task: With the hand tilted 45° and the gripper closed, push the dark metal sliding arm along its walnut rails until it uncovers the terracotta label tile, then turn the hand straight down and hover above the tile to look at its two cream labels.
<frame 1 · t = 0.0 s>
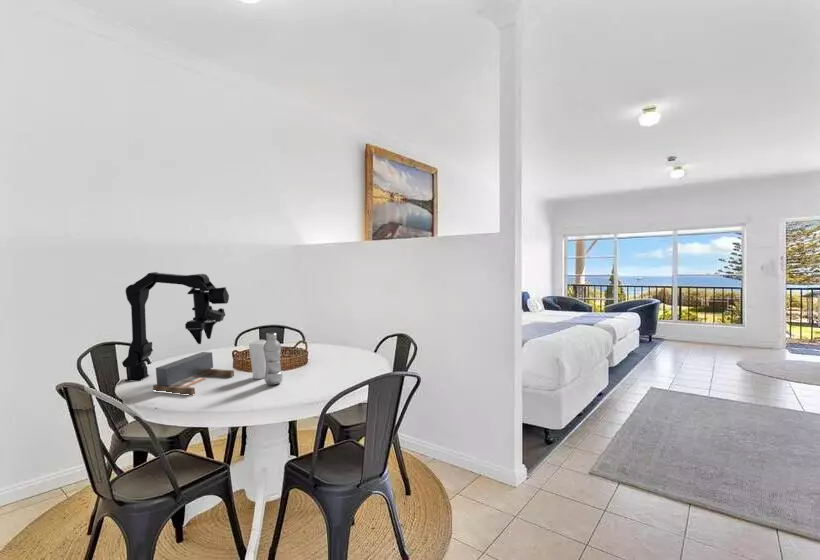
hand: (204, 341, 174), 15 cm above the table, tool pointing down, fingers open, 9 cm apart
sliding arm: (186, 367, 166), point 6 cm above the table, slide at 0.0 cm
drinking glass: (259, 377, 171), on the table
plastic bottle: (274, 384, 162), on the table
label tile: (187, 383, 166), on the table
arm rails: (187, 383, 166), on the table
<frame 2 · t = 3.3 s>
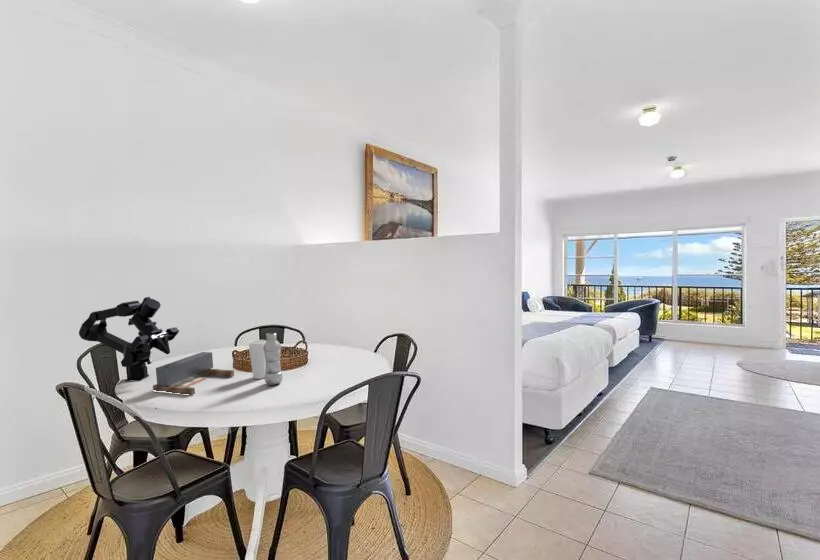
hand: (168, 353, 167), 12 cm above the table, tool tilted 45°, fingers closed
nothing on the table moved.
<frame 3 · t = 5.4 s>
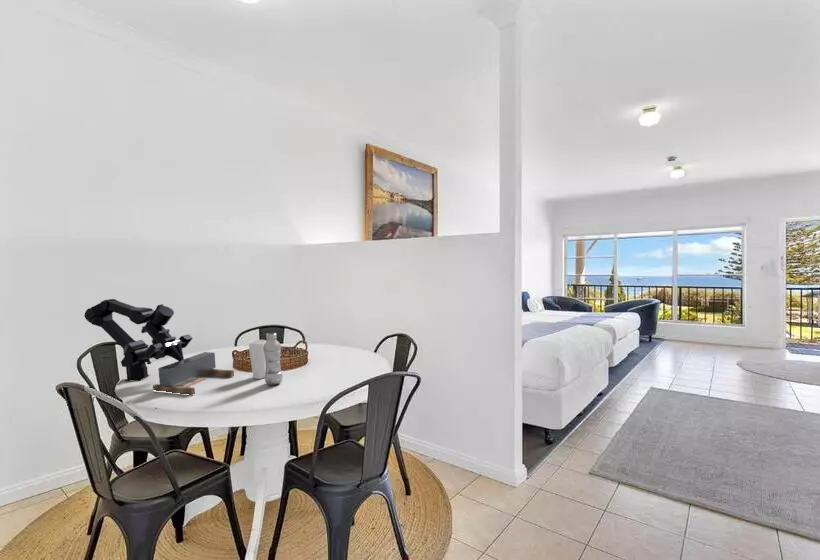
hand: (182, 361, 166), 9 cm above the table, tool tilted 45°, fingers closed, pressing on sliding arm
sliding arm: (188, 367, 165), point 6 cm above the table, slide at 1.3 cm, touching gripper
everything else where it was.
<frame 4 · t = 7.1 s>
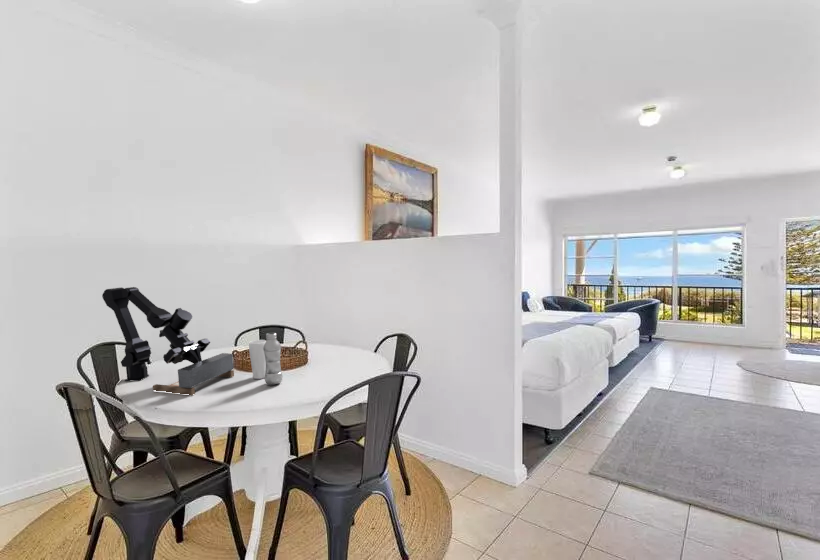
hand: (201, 365, 163), 7 cm above the table, tool tilted 45°, fingers closed
sliding arm: (207, 369, 163), point 6 cm above the table, slide at 10.2 cm
everything else where it was.
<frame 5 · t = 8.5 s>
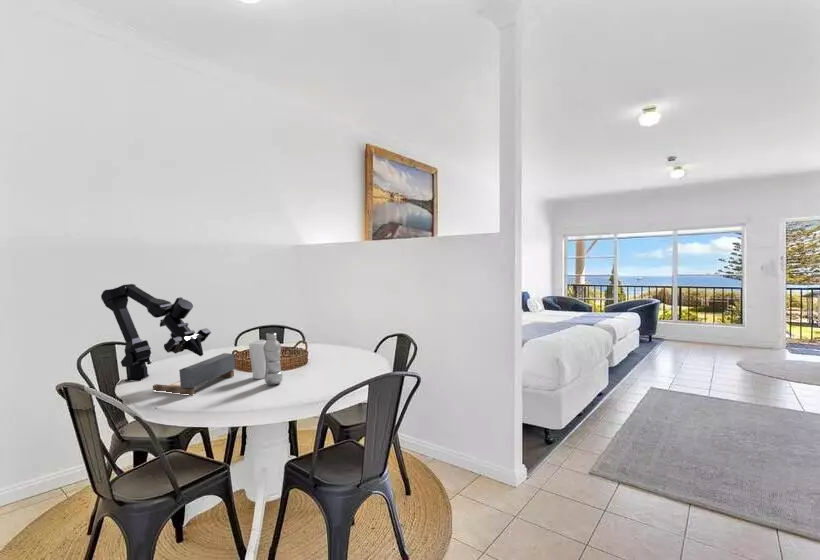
hand: (201, 355, 163), 12 cm above the table, tool tilted 45°, fingers closed
sliding arm: (209, 369, 163), point 6 cm above the table, slide at 11.0 cm
everything else where it was.
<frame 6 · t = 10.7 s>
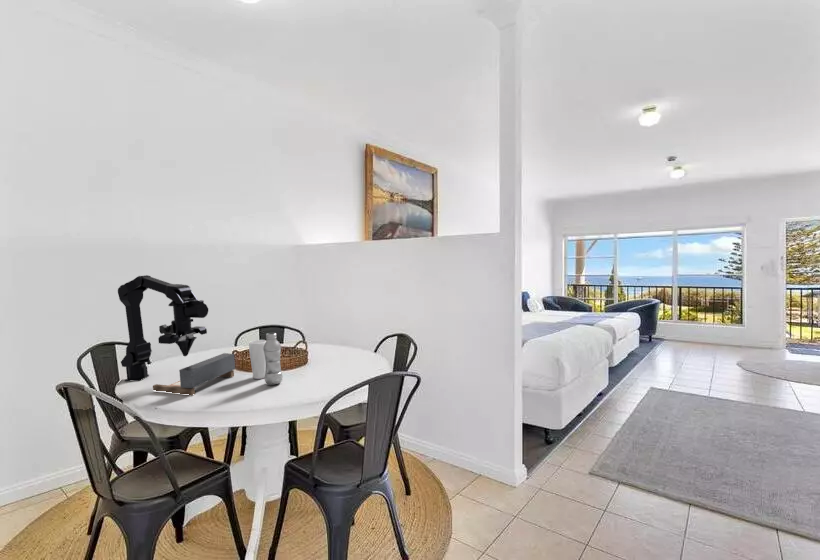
hand: (185, 356, 165), 11 cm above the table, tool pointing down, fingers closed
nothing on the table moved.
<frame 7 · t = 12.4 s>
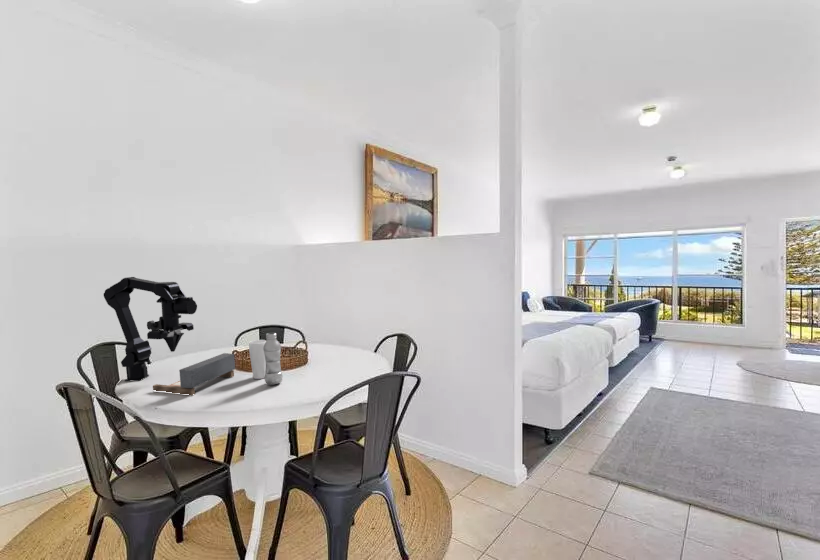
hand: (172, 351, 169), 12 cm above the table, tool pointing down, fingers closed
nothing on the table moved.
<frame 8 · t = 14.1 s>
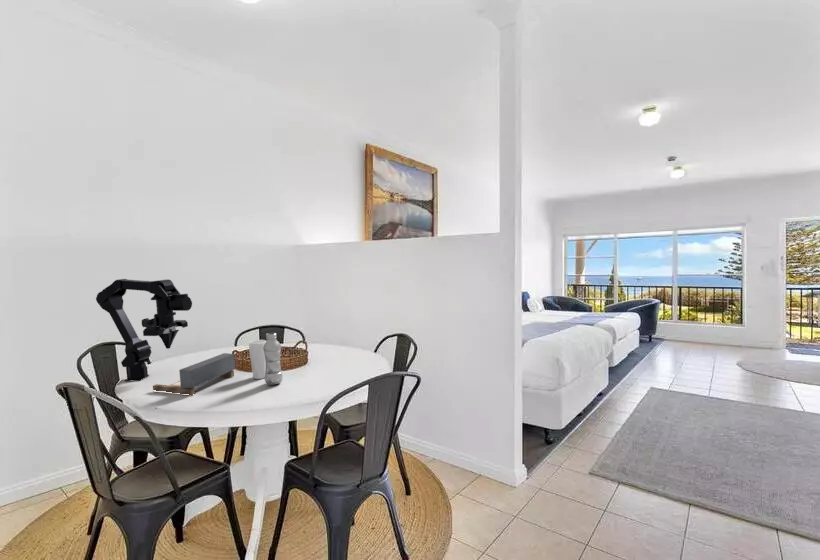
hand: (168, 348, 170), 13 cm above the table, tool pointing down, fingers closed
nothing on the table moved.
at the end: sliding arm slide at 11.0 cm; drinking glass moved 0.2 cm from its start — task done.
